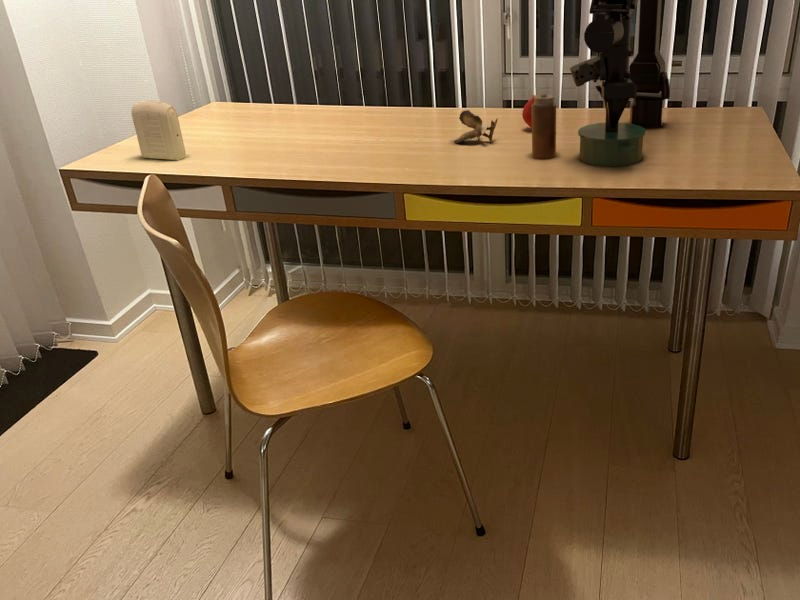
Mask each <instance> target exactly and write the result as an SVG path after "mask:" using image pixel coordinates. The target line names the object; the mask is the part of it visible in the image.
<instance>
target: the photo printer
mask: <svg viewBox="0 0 800 600" xmlns="http://www.w3.org/2000/svg"><path fill="white" fill-rule="evenodd" d="M130 113H131V117H132V118H131V119H132V122H133V127H134V130H135V135H136V139H137V143H138V146H139V150H140V155H141V157H142V158H144V159H159V160H171V161H173V160H175V161H180V160H183V159H185V158H186V155H187V154H186V148H185V143H184V139H183V134H182V130H181V125H180V120H179V116H178V112H177V110H176V108H175V107H174V106H173V105H171V104H169V103H166V102H164V101H163V102H162V101H158V100H144V101H140V102H138V103H135V104H133V105H132V107H131V111H130Z"/></svg>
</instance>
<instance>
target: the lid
mask: <svg viewBox="0 0 800 600" xmlns="http://www.w3.org/2000/svg"><path fill="white" fill-rule="evenodd" d="M577 135H578V137H579V138H580V137H582V138H584V139H587V140H592V141H598V142H623V141H631V140H635V139H639V138H641V137H643V138H644V136H645V135H646V128H643V127H641V126H638V125H634V124H632V123H628V122H620V120H619V121H618V123H617V126H616V127H615V128H611V127H610V123H609V116H608V108H607V105H606V109H605V121H604V122H597V123H591V124H586V125H584V126H581V127H580V128H579V129H578V130H577Z"/></svg>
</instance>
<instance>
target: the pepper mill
mask: <svg viewBox="0 0 800 600" xmlns="http://www.w3.org/2000/svg"><path fill="white" fill-rule="evenodd" d="M535 95H536V94H535ZM554 100H555V97H554V95H553V94H546V93H541V94H537V95H536V96H534V104H532V128H531V157H532V158H534V159H538V160H539V159H540V160H549V159H553V158H555V157H556V156H557V103H556V102H554Z"/></svg>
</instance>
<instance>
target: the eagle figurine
mask: <svg viewBox="0 0 800 600" xmlns="http://www.w3.org/2000/svg"><path fill="white" fill-rule="evenodd" d="M458 119H459V120H460V122H461V124H463V125H464V126H466V127H468V128H470V129H472V130H469V131H466V132H464V133H462V134H461V135H460V136H459V137H458V138H456V139H454V140H453V142H454V143H456V144H458V143H461V142H463V141H465V140H473V139H475V138H476V139H478V140H480V139H481V136H482V137H485V138H488V140H489V143H493V137H494V134H495V133H494V132H495V129H496V127H497V125H498V124H497V123H498V119H499V118H498V117H497V118H495V120H491V121H490V126H489V121H488V120H486V121H485V122H483V120H482V118H481V117H480V116H479V115H476V114H474V113H473V112H471V111H470V110H469V109H466V110H463V111H461V112H460V114H459V117H458ZM486 131H489V134H488V133H486Z"/></svg>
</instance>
